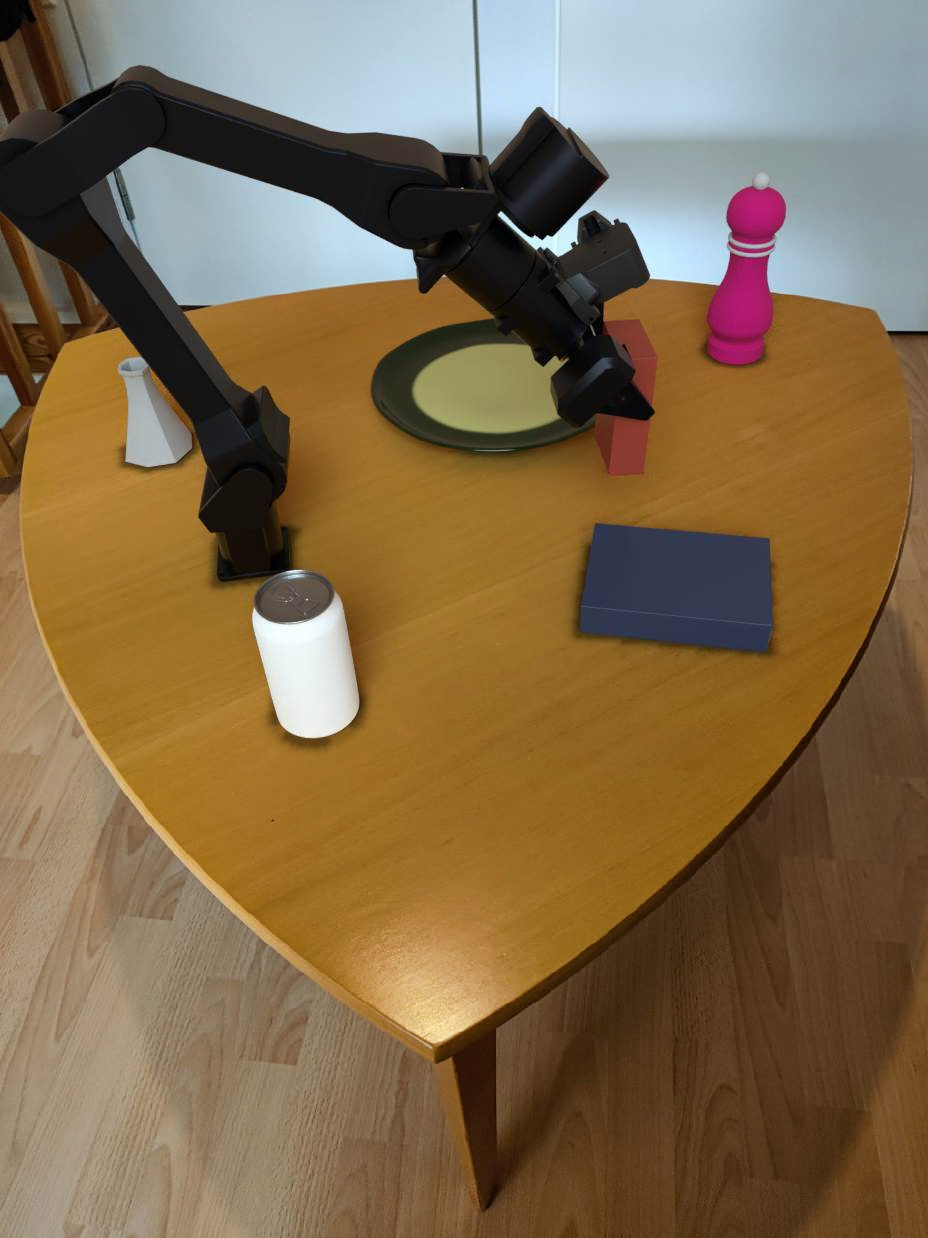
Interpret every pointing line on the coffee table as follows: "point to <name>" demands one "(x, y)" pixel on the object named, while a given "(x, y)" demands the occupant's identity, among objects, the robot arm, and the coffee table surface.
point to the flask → (151, 420)
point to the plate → (471, 390)
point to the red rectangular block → (621, 435)
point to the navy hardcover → (678, 587)
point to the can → (306, 653)
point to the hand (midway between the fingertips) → (641, 394)
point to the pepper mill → (746, 275)
